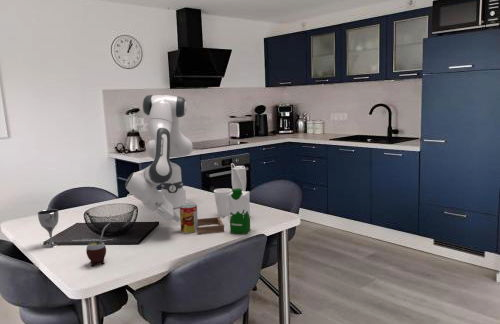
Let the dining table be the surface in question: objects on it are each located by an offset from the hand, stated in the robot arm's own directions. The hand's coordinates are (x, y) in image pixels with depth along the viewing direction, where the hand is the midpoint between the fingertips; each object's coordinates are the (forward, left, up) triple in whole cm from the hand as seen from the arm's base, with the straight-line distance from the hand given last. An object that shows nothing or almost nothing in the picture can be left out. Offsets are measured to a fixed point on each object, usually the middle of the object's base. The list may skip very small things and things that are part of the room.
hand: (179, 220), depth 194 cm
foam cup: (-21, +24, -6) cm, 32 cm away
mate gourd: (+29, -32, -6) cm, 44 cm away
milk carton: (+9, +27, -6) cm, 29 cm away
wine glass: (+1, -55, -6) cm, 55 cm away
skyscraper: (-12, +31, -6) cm, 34 cm away
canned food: (0, +5, -6) cm, 7 cm away
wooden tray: (0, +13, -5) cm, 14 cm away
